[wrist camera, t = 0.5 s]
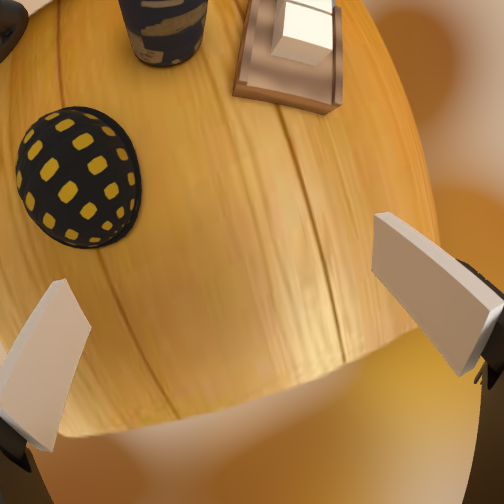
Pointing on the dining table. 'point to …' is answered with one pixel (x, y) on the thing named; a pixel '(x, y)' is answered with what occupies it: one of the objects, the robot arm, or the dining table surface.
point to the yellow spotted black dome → (79, 177)
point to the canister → (164, 28)
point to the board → (286, 66)
